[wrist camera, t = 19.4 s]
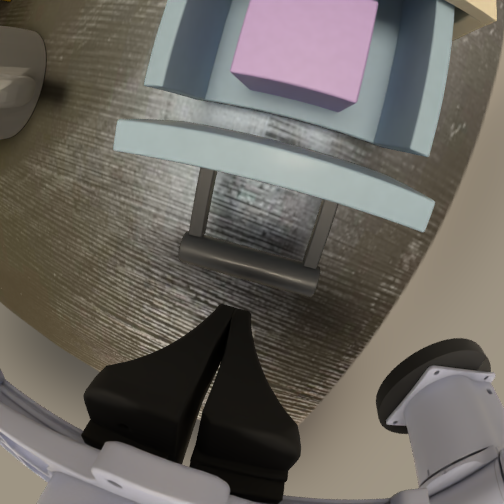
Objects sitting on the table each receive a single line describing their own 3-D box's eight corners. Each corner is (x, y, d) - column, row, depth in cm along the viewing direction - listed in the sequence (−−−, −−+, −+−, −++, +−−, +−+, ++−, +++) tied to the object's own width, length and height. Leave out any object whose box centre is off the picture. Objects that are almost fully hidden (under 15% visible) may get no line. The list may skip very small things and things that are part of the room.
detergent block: (357, 35, 11) (379, 1, 7) (339, 112, 12) (357, 103, 8) (269, 13, 11) (257, -27, 7) (248, 89, 13) (228, 72, 9)
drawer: (351, 271, 17) (373, 340, 11) (163, 220, 17) (105, 264, 11) (424, -9, 9) (469, -54, 4) (233, -56, 10) (205, -115, 4)
